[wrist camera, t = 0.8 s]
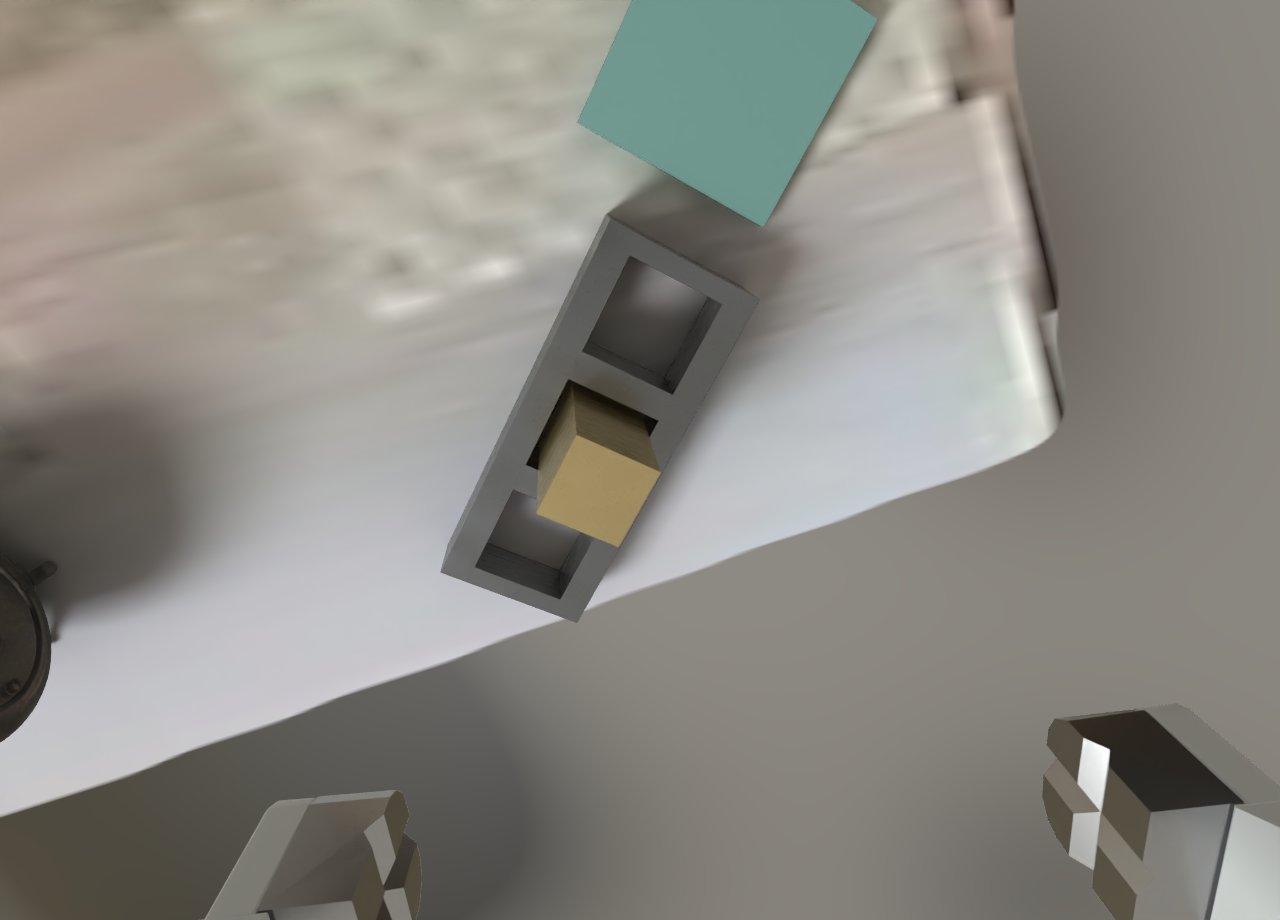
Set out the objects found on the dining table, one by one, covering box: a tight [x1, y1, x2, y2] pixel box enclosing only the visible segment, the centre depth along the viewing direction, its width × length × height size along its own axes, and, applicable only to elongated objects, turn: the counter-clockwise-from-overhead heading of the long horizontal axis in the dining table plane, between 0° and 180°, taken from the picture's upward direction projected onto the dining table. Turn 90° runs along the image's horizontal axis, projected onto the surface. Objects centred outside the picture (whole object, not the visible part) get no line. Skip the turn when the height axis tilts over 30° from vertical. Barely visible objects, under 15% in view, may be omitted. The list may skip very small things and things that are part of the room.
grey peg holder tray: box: [441, 214, 760, 623], centre depth 39 cm, size 8×20×3 cm, turn 152°
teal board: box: [577, 0, 878, 227], centre depth 34 cm, size 10×10×1 cm
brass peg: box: [536, 380, 661, 547], centre depth 36 cm, size 4×4×9 cm
